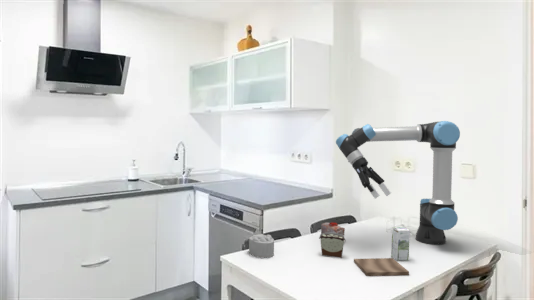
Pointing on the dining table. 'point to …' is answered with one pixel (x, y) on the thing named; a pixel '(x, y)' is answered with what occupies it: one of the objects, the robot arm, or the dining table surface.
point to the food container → (332, 244)
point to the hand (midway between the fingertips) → (383, 195)
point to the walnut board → (380, 267)
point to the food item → (332, 228)
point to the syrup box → (400, 243)
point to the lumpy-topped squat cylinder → (261, 246)
